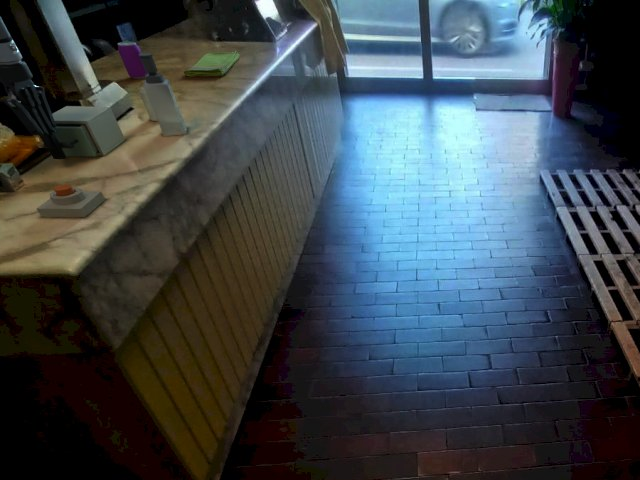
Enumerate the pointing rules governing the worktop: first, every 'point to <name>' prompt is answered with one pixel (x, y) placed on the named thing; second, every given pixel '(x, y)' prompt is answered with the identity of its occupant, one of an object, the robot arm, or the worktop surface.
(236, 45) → the worktop surface
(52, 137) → the robot arm
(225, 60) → the dish towel
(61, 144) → the drawer
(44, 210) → the control block
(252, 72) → the worktop surface
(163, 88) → the soap dispenser
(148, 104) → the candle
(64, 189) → the button
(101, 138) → the cabinet
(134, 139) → the worktop surface
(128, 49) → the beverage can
